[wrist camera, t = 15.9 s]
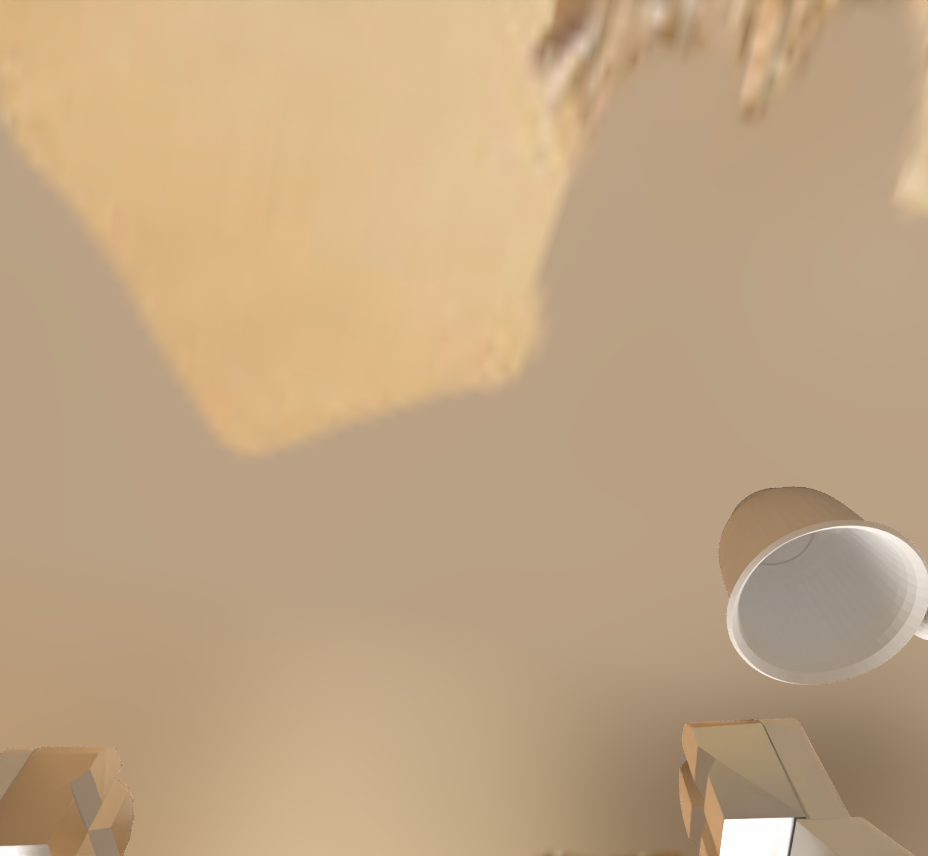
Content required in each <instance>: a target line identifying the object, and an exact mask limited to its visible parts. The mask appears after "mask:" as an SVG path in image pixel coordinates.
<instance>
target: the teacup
mask: <svg viewBox="0 0 928 856" xmlns="http://www.w3.org/2000/svg"><path fill="white" fill-rule="evenodd" d="M719 564H720V569H721V573H722V578H723V581H724V584H725V588H726V591H727V594H728V597H729V604H728V609H727V628H728V632H729V636H730V639H731V641H732V643H733V646H734V647H735V649H736V650H737V652H738V653H739V655H740V656H741V657H742V658H743V659H744V660H745V661H746V662H747V663H748V664H749V665H750V666H752V667H753V668H754V669H756V670H757V671H759V672H761V673H762V674H764V675H766V676H768V677H771V678H773V679H777V680H779V681H783V682H788V683H794V684H809V685H812V684H827V683H834V682H839V681H843V680H847V679H850V678H853V677H856V676H859V675H862V674H864V673H866V672H869V671H871V670H873V669H875V668H876V667H878V666H880V665H882V664H883V663H885V662H886V661H887V660H889V659H890V658H892V657H893V656H894V655H895V654H896V653H897V652H899V650H901V649H902V648H903V647H904V646H905V644H907V642H908V641H909V640H910V639H911V637H912V636H913V635H916V636H918V637H920V638H923V639H925V640H928V565H927V563H926V561H925V559H924V557H923V556H922V554H921V552H920V551H919V550H918V548H917V547H916V546H915V545H914V544H913V543H912V542H911V541H910V540H909V539H908V538H906V537H905V536H903V535H902V534H901V533H899V532H897V531H896V530H894V529H892V528H890V527H887V526H884V525H881V524H878V523H875V522H869V521H865V520H863V519H862V518H861V517H860V516H858V515H857V514H856V513H854V512H853V511H852V510H850V509H849V508H848V507H846V506H845V505H844V504H842V503H841V502H839V501H838V500H836V499H834V498H833V497H831V496H829V495H827V494H825V493H822V492H819V491H817V490H814V489H809V488H804V487H783V488H769V489H764V490H761V491H758V492H755V493H753V494H751V495H749V496H748V497H746V498H745V499H744V500H743V501H742V502H741V503H740V504H739V505H738V506H737V507H736V508H735V510H734V512H733V513H732V516H731V518H730V519H729V520H728V522H727V524H726V526H725V528H724V530H723V533H722V536H721V539H720V543H719Z"/></svg>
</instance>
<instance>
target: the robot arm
mask: <svg viewBox="0 0 928 856" xmlns="http://www.w3.org/2000/svg"><path fill="white" fill-rule="evenodd" d="M682 746H683V749H684V752H685V755H686V758H687V760H686V761H685V762H684V763H683V764H682V765H681V767H680V774H679V775H680V776H679V791H680V802H681V809H682V813H683V819H684V823H685V826H686V830H687V833H688V837H689V839H690V840H691V841H692V842H693V843H694V844H695V845H696V846H697V847H699V849H700V855H699V856H914V855H913V854H911V853H910V852H909V851H907V850H906V849H904V848H903V847H902V846H900V845H899V844H898V843H896V842H895V841H894V840H892V839H891V838H890V837H888V836H887V835H885V834H884V833H883V832H881V831H880V830H879V829H877V828H876V827H875V826H873V825H872V824H871V823H869V822H868V821H866V820H865V819H864V818H862V817H850V815H849V813H848V812H847V810H846V808H845V806H844V804H843V802H842V800H841V799H840V797H839V795H838V793H837V791H836V789H835V788H834V786H833V784H832V782H831V780H830V778H829V776H828V774H827V773H826V771H825V769H824V767H823V765H822V763H821V761H820V760H819V758H818V756H817V754H816V752H815V751H814V748H813V747H812V745H811V744H810V741H809V739H808V737H807V736H806V734H805V732H804V730H803V728H802V726H801V724H800V723H799V722H798V721H797V720H795V719H794V718H777V719H758V720H734V721H714V722H696V723H686V724H685V726H684V729H683V736H682ZM121 766H122V764H121V761H120V758H119V756H118V753H117V751H116V748H112V747H41V748H8V749H6V750H4V751H3V752H1V753H0V856H123V855H124V852H125V850H126V848H127V845H128V843H129V840H130V836H131V831H132V826H133V821H134V804H133V798H132V795H131V791H130V788H129V787H128V786H126V785H125V784H124V783H122V782H121V781H120V780H119V779H117V778H116V776H117V774H118V772H119V770H120V768H121Z"/></svg>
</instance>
